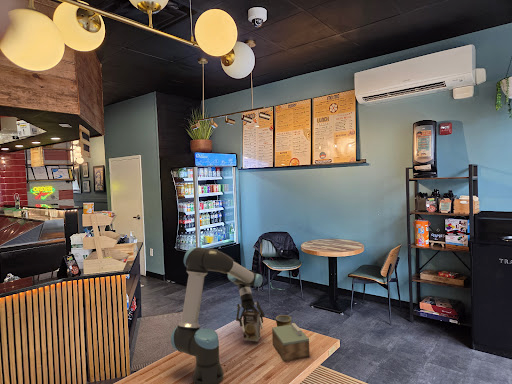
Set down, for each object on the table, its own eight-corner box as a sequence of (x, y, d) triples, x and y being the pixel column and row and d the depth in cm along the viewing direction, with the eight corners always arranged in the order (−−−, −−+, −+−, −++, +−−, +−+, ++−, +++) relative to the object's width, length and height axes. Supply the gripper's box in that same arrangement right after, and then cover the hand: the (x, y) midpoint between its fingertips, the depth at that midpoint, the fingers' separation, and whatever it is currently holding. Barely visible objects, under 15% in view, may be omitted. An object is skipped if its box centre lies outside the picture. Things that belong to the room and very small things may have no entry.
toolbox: (284, 362, 178) (283, 345, 177) (272, 344, 197) (272, 329, 197) (309, 357, 182) (309, 341, 181) (296, 340, 201) (295, 326, 201)
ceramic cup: (294, 335, 208) (294, 319, 207) (280, 338, 204) (279, 322, 204) (285, 326, 220) (284, 312, 219) (271, 329, 216) (271, 314, 216)
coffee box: (243, 340, 199) (242, 314, 198) (246, 335, 205) (245, 309, 204) (257, 341, 196) (256, 315, 196) (260, 336, 202) (259, 311, 202)
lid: (283, 345, 177) (283, 337, 177) (272, 329, 197) (271, 322, 197) (309, 340, 181) (308, 333, 181) (295, 325, 201) (295, 318, 200)
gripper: (262, 296, 218) (270, 329, 203) (227, 300, 212) (233, 335, 197) (264, 290, 212) (272, 324, 198) (229, 295, 206) (234, 330, 192)
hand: (253, 330), depth 198 cm, fingers closed on coffee box, 11 cm apart
